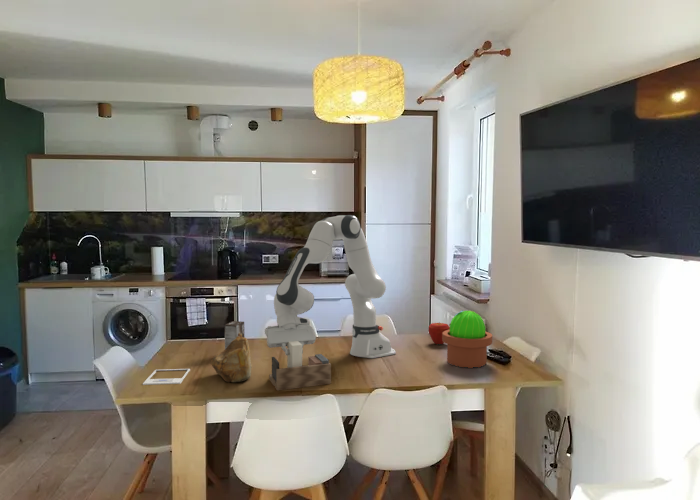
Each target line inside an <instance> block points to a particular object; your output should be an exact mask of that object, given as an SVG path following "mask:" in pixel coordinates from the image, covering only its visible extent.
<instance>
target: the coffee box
mask: <svg viewBox="0 0 700 500" xmlns="http://www.w3.org/2000/svg"><path fill="white" fill-rule="evenodd" d="M238 336H240V337H241V338H242V337H245V321H237V320H235V321H230V322H228V323H225V324H224V350H225V349H226V348H227V347H228V345H230V343H231V342H232V341H233V340H235V338H236V337H238Z"/></svg>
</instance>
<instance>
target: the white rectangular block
mask: <svg viewBox="0 0 700 500" xmlns="http://www.w3.org/2000/svg"><path fill="white" fill-rule="evenodd" d="M286 348H287V349H289V350H290V355H286V356H287V357H286V358H287V367H286V368H291V367H300V366H303V353H302V349H303V348H302V344H301V343H300V342H298V341H291V342H288V343H287V346H286Z"/></svg>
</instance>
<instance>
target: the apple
mask: <svg viewBox="0 0 700 500" xmlns="http://www.w3.org/2000/svg"><path fill="white" fill-rule="evenodd" d="M427 329H428V334H429V336H430V338H431V342H433V343H434V344H435V345H437V344H442V345H443V344H445V343H444V342H443V341H442V333H443V332H444V331H446V330H450V326H449V324H448V323H443V322H440V321H439V322H432V323H430V324H429V326H428V328H427Z"/></svg>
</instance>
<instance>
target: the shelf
mask: <svg viewBox="0 0 700 500" xmlns="http://www.w3.org/2000/svg"><path fill="white" fill-rule="evenodd" d="M307 361H308V365H302V366H300V367H291V368H287V367H285V368H280V361H278V360H277V358H276V357H275V356H271V374H269V375H268V378H269V379H270V380H269V381H270V382H271V384H272V386H273V387H274V386H275V387H274V388H275V389H276V391H282V390H290V389H291V390H292V389H299V388H307V387H313V386H314V387H315V386H322V385H323V386H324V385H330V384H332V364H331V363H330V360H329V359H328V358H327V357H325V356H324V355H323V354H322V353H317V354H314V355H312V356H308V360H307Z"/></svg>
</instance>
